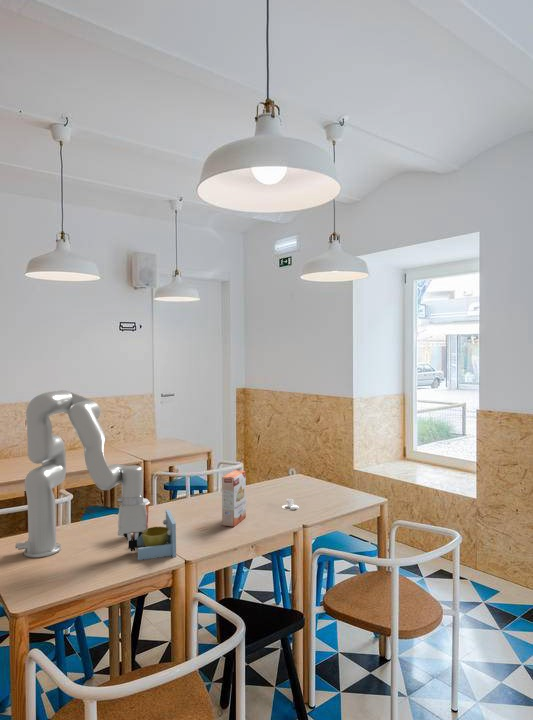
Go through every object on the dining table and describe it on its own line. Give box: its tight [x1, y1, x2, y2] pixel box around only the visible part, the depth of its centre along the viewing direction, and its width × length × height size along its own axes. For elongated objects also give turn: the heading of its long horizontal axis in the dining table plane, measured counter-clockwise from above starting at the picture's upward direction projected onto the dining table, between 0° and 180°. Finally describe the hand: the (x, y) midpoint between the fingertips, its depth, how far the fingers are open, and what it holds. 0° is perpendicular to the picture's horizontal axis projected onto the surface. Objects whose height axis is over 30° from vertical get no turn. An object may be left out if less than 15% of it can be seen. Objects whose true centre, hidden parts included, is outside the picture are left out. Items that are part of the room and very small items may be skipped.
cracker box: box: [221, 469, 247, 527], centre depth 222 cm, size 14×6×21 cm, turn 161°
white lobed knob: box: [281, 498, 300, 511], centre depth 241 cm, size 9×8×4 cm
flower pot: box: [142, 526, 169, 547], centre depth 191 cm, size 10×10×7 cm
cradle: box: [137, 508, 177, 561], centre depth 190 cm, size 13×18×12 cm
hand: (132, 549), depth 188 cm, fingers closed
